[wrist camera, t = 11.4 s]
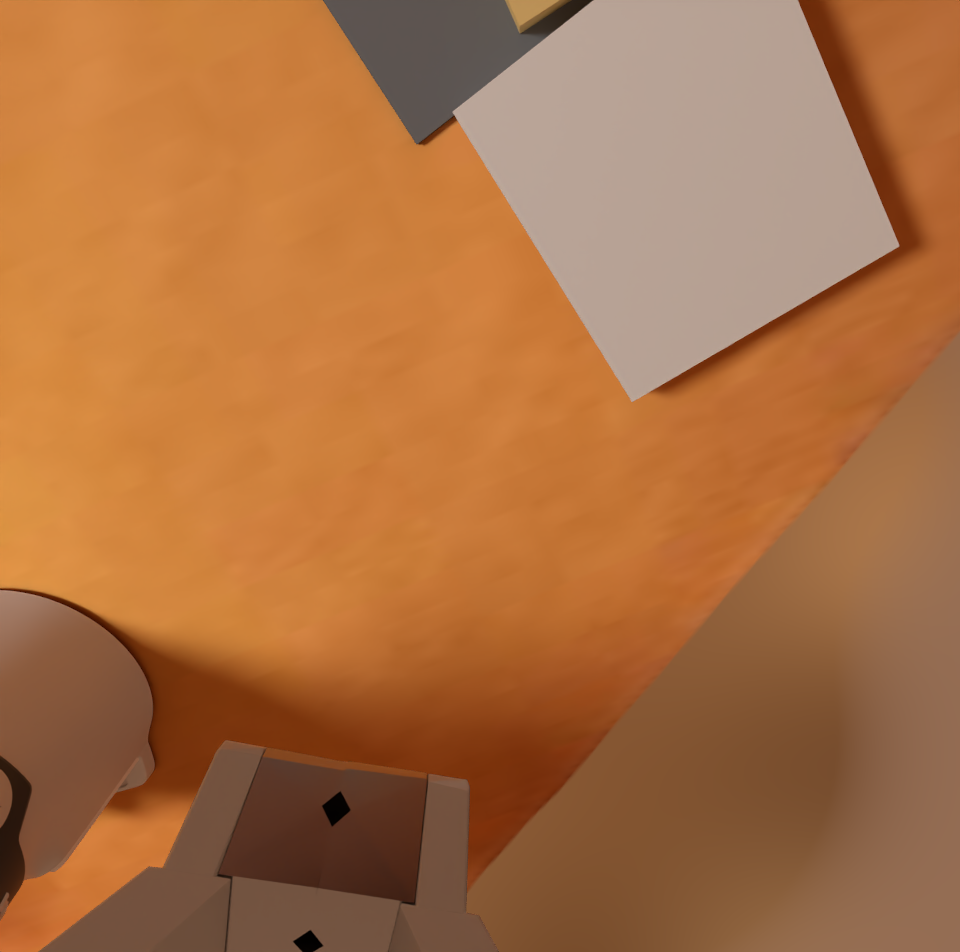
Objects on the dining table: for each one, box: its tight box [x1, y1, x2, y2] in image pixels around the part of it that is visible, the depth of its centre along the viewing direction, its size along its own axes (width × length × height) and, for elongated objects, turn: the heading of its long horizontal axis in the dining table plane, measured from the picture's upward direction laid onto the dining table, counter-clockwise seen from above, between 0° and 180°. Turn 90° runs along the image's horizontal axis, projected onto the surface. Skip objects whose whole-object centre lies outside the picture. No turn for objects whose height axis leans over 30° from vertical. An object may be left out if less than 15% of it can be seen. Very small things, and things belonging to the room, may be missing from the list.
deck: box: [453, 0, 899, 402], centre depth 28 cm, size 12×14×2 cm
